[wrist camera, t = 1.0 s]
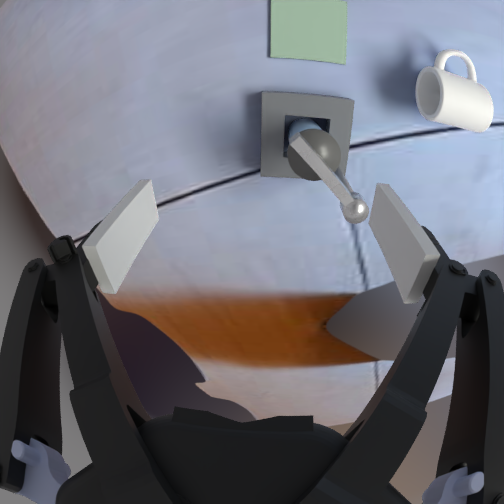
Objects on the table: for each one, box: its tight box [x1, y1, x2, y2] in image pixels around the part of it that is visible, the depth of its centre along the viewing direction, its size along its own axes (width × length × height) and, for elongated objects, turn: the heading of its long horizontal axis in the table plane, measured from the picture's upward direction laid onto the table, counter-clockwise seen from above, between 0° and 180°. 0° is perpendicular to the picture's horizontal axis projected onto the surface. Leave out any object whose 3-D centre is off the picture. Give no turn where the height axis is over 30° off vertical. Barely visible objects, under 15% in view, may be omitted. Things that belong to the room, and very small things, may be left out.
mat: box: [271, 0, 347, 65], centre depth 26 cm, size 10×10×1 cm
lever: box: [289, 132, 369, 224], centre depth 26 cm, size 11×3×2 cm, turn 45°
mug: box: [415, 49, 493, 133], centre depth 24 cm, size 12×10×8 cm
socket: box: [261, 91, 354, 192], centre depth 31 cm, size 12×12×12 cm
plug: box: [287, 118, 341, 181], centre depth 32 cm, size 6×6×10 cm
